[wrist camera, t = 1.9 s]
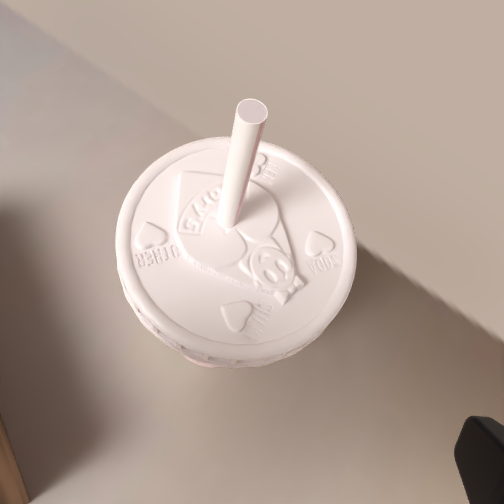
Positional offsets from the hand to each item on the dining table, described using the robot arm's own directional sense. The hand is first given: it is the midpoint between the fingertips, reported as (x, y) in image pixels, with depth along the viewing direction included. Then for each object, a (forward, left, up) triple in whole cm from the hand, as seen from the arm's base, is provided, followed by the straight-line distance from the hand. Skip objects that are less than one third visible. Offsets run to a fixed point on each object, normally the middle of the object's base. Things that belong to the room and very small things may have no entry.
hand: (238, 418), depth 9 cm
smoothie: (+4, -2, -12) cm, 12 cm away
